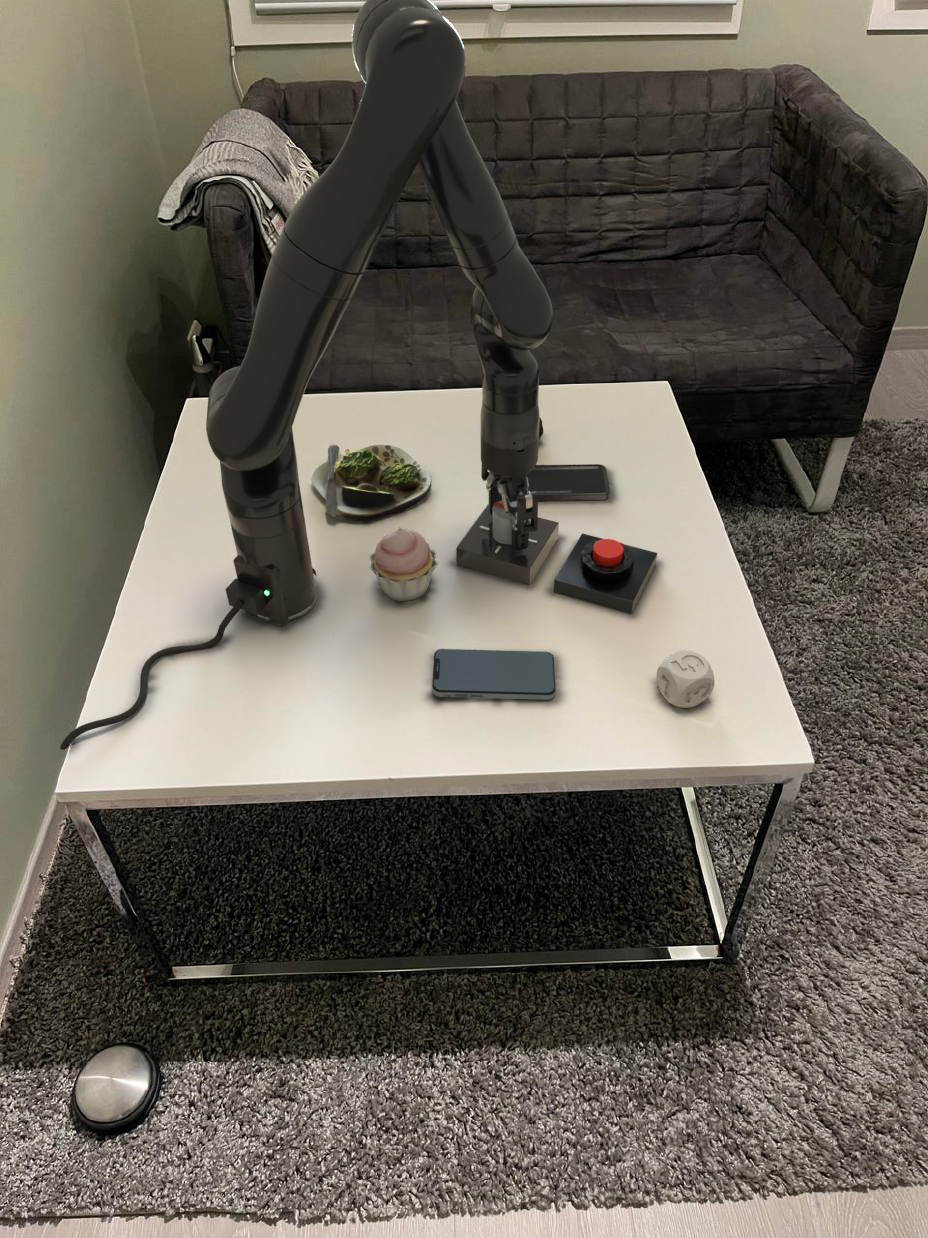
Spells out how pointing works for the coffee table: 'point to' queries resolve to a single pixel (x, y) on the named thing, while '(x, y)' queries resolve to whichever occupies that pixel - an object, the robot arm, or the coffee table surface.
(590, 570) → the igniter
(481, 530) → the hob panel
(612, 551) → the button
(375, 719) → the coffee table surface
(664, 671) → the die
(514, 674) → the smartphone
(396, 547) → the cupcake
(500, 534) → the hob knob
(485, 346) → the robot arm
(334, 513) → the salad plate
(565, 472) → the phone
